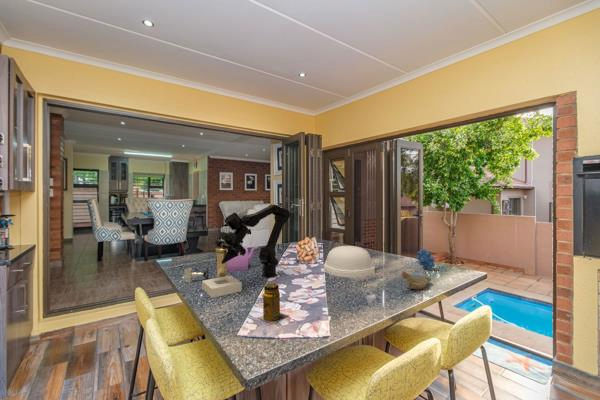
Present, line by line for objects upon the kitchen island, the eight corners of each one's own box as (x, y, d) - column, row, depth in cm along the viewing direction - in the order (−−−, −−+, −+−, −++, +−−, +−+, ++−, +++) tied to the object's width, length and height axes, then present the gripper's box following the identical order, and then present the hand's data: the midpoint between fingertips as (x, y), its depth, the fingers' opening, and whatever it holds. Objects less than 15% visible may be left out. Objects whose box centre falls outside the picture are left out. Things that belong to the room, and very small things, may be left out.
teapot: (260, 269, 165) (260, 246, 165) (216, 272, 158) (216, 248, 158) (257, 263, 180) (257, 242, 179) (217, 265, 173) (217, 243, 173)
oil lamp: (395, 289, 130) (396, 268, 130) (422, 281, 142) (422, 262, 142) (412, 294, 123) (412, 272, 123) (438, 286, 135) (438, 266, 135)
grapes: (412, 268, 168) (412, 248, 167) (419, 266, 171) (419, 247, 171) (430, 272, 158) (430, 252, 157) (436, 271, 161) (437, 250, 161)
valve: (183, 283, 138) (208, 281, 141) (183, 270, 138) (208, 269, 141) (184, 280, 144) (208, 278, 147) (184, 267, 144) (208, 265, 147)
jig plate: (230, 283, 138) (230, 275, 138) (241, 291, 127) (241, 282, 127) (201, 289, 130) (201, 280, 130) (211, 297, 119) (211, 288, 118)
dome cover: (312, 271, 160) (313, 248, 160) (335, 261, 185) (336, 240, 184) (365, 281, 142) (365, 254, 142) (383, 268, 167) (383, 246, 166)
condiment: (258, 318, 99) (258, 285, 99) (274, 310, 106) (274, 280, 105) (272, 324, 94) (272, 290, 94) (288, 316, 101) (288, 284, 101)
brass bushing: (227, 273, 131) (227, 246, 131) (227, 276, 126) (227, 248, 126) (215, 274, 130) (215, 247, 130) (215, 277, 125) (215, 249, 124)
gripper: (217, 224, 137) (197, 249, 128) (240, 227, 125) (220, 255, 116) (230, 237, 143) (212, 262, 135) (254, 241, 131) (235, 269, 123)
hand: (219, 262), depth 127 cm, fingers closed on brass bushing, 4 cm apart
